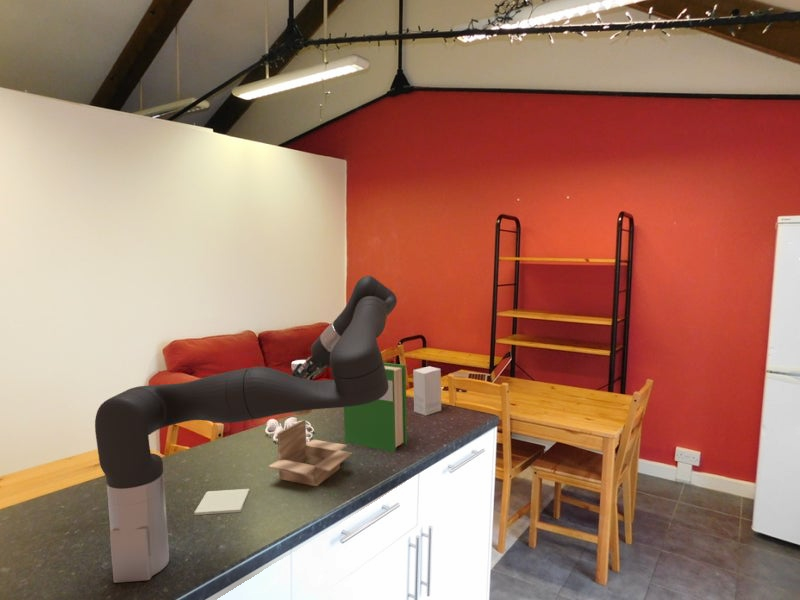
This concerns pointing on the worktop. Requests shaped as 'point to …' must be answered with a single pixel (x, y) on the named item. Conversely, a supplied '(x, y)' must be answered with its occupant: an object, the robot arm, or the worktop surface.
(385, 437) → the hardback book
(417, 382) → the skincare box
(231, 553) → the worktop surface
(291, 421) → the tangled rod sculpture
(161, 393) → the robot arm
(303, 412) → the sprinkles bottle
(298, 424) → the carton
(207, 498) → the coaster
